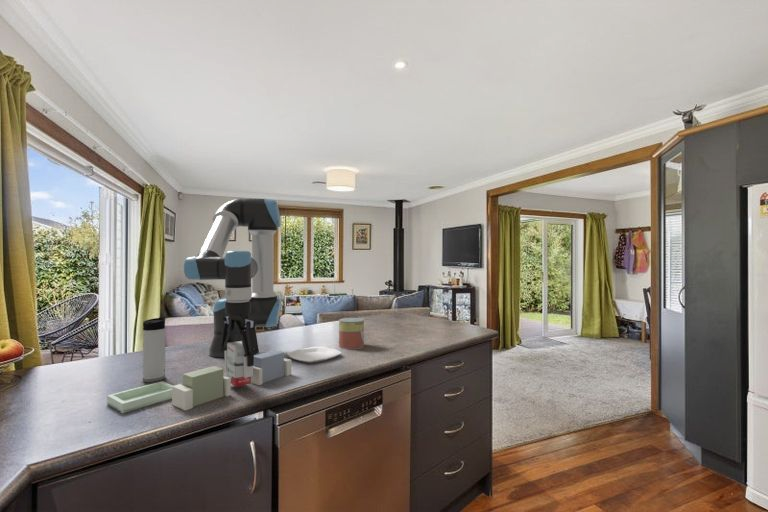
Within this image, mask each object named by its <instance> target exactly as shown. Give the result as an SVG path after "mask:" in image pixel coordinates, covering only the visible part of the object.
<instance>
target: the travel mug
mask: <svg viewBox="0 0 768 512" xmlns="http://www.w3.org/2000/svg"><path fill="white" fill-rule="evenodd" d="M142 326H143V328H142V382H144V383H156V382H160V381H163V380H164V379H165V378H166V317H164V316H160V317H156V318H155V317H154V318H150V319H147V320H144V321H143V322H142ZM162 379H163V380H162ZM159 380H160V381H159ZM155 381H156V382H155Z"/></svg>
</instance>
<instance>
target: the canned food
mask: <svg viewBox="0 0 768 512" xmlns="http://www.w3.org/2000/svg"><path fill="white" fill-rule="evenodd" d="M364 336H365V319H364V318H361V317H343V318H340V319H338V348H340V349H342V350H359V349H362V348H364V347H365V337H364Z"/></svg>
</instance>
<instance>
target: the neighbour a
mask: <svg viewBox="0 0 768 512" xmlns="http://www.w3.org/2000/svg"><path fill="white" fill-rule="evenodd" d="M223 376H224V368H221V367H220V366H215V365H214V366H213V365H212V366H209V367H204V368H201V369H196V370H192V371H190V372H185V373H183V374H182V385H183V386H186V387H188V388H191V389H193V407H197V406H199V405H202V404H205V403H208V402H211V401H214V400H217V399H221V398H222V397H224V395H223Z"/></svg>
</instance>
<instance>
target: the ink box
mask: <svg viewBox="0 0 768 512" xmlns="http://www.w3.org/2000/svg"><path fill="white" fill-rule="evenodd" d="M244 355H245V351H244V347H243V344H242V341H238V342H228V343H227V372H226V377H229V378H230V382H231V385H232V386H233V387H241V386H246V385H251V384H252V383H251V376H250V377H247V378H244Z"/></svg>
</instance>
